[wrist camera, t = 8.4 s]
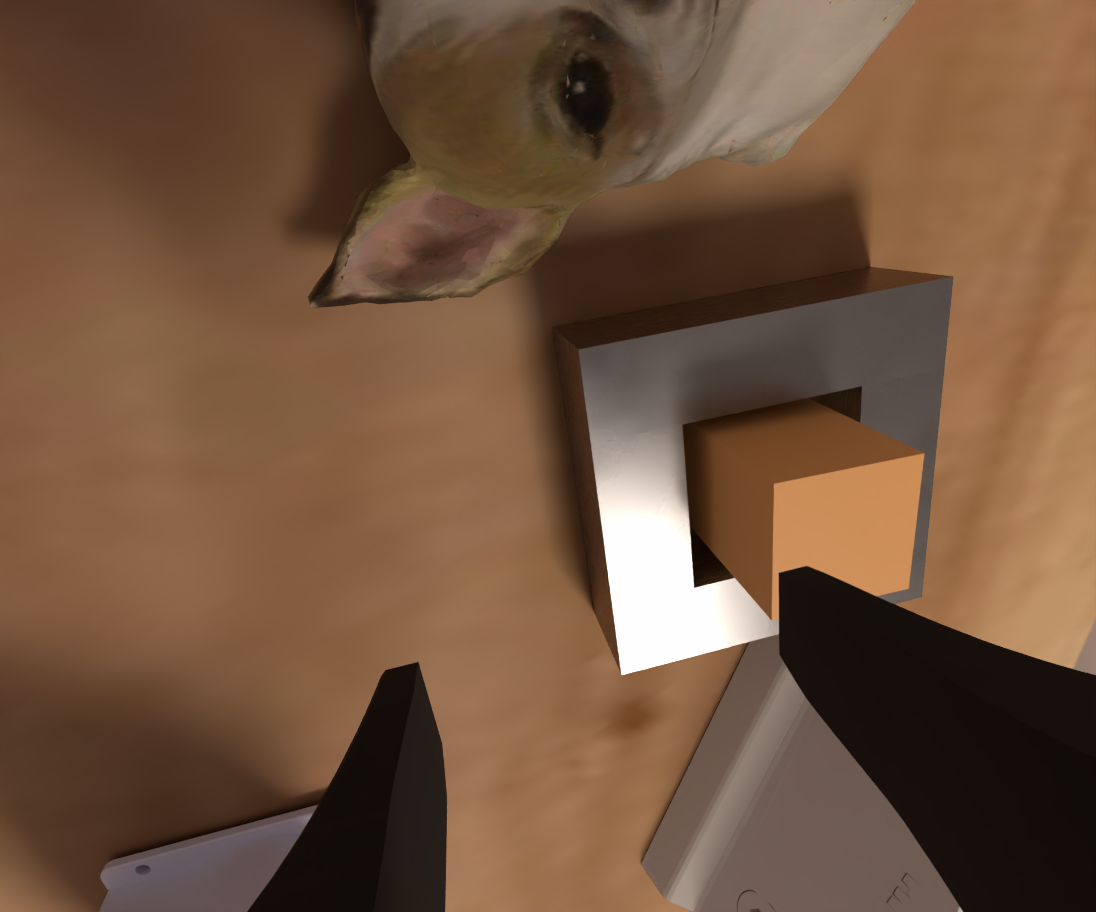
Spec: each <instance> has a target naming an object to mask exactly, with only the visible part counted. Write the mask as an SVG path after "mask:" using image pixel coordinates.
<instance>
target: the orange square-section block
mask: <svg viewBox="0 0 1096 912" xmlns="http://www.w3.org/2000/svg"><path fill="white" fill-rule="evenodd" d="M682 425H683V440H684V454H685V468H686V482H687V496H688V510H689V524H690V527H691V528H692V529H693V530H694V531H695V532H696V534H697V535H698V536H699V537H700V538H701V539H702V541H703V542H704V543H705V544H706V545H707V546H708V548H709V549H710V550H711V551H712V552H713V553H714V554H715V556H716V557H717V558H718V559H719V560H720V561H721V563H722V564H723V565H724V566H725V567H726V568H727V570H728V571H729V572H730V573H731V574H732V575H733V576H734V578H735V579H736V580H737V581H738V582H739V583H740V585H741V586H742V587H743V588H744V589H745V590H746V592H747V593H748V594H749V595H750V596H751V597H752V598H753V600H754V601H755V602H756V603H757V604H758V605H759V607H760V608H761V609H762V610H763V611H764V612H765V614H766V615H767V616H768V617H769V618H770V619H771V621H772V620H777V619H779V573H780V572H784V571H788V570H792V569H796V568H800V567H804V566H809V567H811V568H814V569H816V570H819V571H821V572H824V573H826V574H828V575H831V576H833V577H835V578H837V579H840V580H842V581H844V582H846V583H848V584H851V585H853V586H855V587H857V588H859V589H862V590H864V591H866V592H868V593H870V594H873V595H875V596H880V595H884V594H888V593H893V592H897V591H901V590H905V589H909V581H910V573H911V564H912V556H913V547H914V538H915V530H916V521H917V513H918V504H919V496H920V487H921V479H922V470H923V462H924V453H923V452H921V451H919V450H916V449H914V448H912V447H910V446H908V445H906V444H904V443H902V442H900V441H897V440H895V439H893V438H891V437H889V436H887V435H885V434H883V433H881V432H878V431H876V430H874V429H872V428H870V427H868V426H866V425H864V424H862V423H860V422H857V421H855V420H853V419H851V418H849V417H847V416H845V415H843V414H841V413H838V412H836V411H834V410H832V409H830V408H828V407H826V406H824V405H822V404H819V403H817V402H815V401H813V400H811V399H809V398H804V399H800V400H795V401H790V402H785V403H781V404H776V405H771V406H767V407H762V408H757V409H753V410H748V411H743V412H739V413H734V414H729V415H725V416H720V417H715V418H711V419H706V420H701V421H696V422H692V423H687V424H682Z"/></svg>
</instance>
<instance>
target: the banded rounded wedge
mask: <svg viewBox="0 0 1096 912" xmlns="http://www.w3.org/2000/svg"><path fill="white" fill-rule="evenodd" d="M641 865H642V866H643V868H644V869H645V871H646V872H647V874H648V875H649V877H650V878H651V880H652V881H653V883H654V884H655V886H656V887H657V889H658V890H659V892H660V893H661V895H662V896H663V897H664V898H665V899H666V900H668V901H669V902H671V903H674V904H676V905H678V906H681V907H683V908H685V909H688V910H690V911H692V912H963V911H962V909H961V908H960V906H959V905H958V903H957V902H956V900H955V898H954V897H953V895H952V894H951V892H950V891H949V889H948V887H947V886H946V884H945V883H944V881H943V880H942V878H941V876H940V875H939V873H938V872H937V870H936V869H935V867H934V866H933V864H932V863H931V862H930V860H929V859H928V857H927V856H926V854H925V853H924V851H923V850H922V848H921V847H920V845H919V844H918V842H917V841H916V839H915V838H914V836H913V835H912V833H911V832H910V830H909V829H908V827H907V826H906V824H905V823H904V821H903V820H902V819H901V817H900V816H899V815H898V813H897V812H896V811H895V809H894V808H893V807H892V805H891V804H890V803H889V801H888V800H887V799H886V797H885V796H884V795H883V794H882V792H881V791H880V790H879V789H878V787H877V786H876V785H875V784H874V783H873V781H872V780H871V779H870V778H869V776H868V775H867V774H866V773H865V771H864V770H863V769H862V768H861V766H860V765H859V764H858V763H857V762H856V760H855V759H854V758H853V757H852V755H851V754H850V753H849V752H848V750H847V749H846V748H845V747H844V745H843V744H842V743H841V742H840V741H839V739H838V738H837V737H836V736H835V734H834V733H833V732H832V731H831V729H830V728H829V727H828V726H827V724H826V723H825V722H824V721H823V719H822V718H821V717H820V716H819V714H818V713H817V712H816V711H815V709H814V708H813V707H812V705H811V704H810V703H809V702H808V700H807V699H806V697H805V696H804V694H803V693H802V691H801V689H800V688H799V686H798V685H797V683H796V682H795V680H794V678H793V677H792V675H791V673H790V672H789V670H788V668H787V667H786V665H785V663H784V662H783V660H782V658H781V657H780V655H779V634H777V635H773V636H770V637H766V638H762V639H758V640H754V641H750V642H749V644H748V646H747V648H746V650H745V652H744V654H743V656H742V658H741V660H740V662H739V664H738V667H737V669H736V671H735V673H734V675H733V677H732V679H731V681H730V683H729V685H728V687H727V689H726V691H725V693H724V695H723V697H722V699H721V701H720V703H719V705H718V707H717V709H716V711H715V714H714V716H713V718H712V720H711V722H710V724H709V726H708V728H707V730H706V732H705V734H704V736H703V738H702V740H701V742H700V744H699V746H698V748H697V750H696V752H695V754H694V756H693V758H692V761H691V763H690V765H689V767H688V769H687V771H686V773H685V775H684V777H683V779H682V781H681V783H680V785H679V787H678V789H677V791H676V793H675V795H674V797H673V799H672V801H671V803H670V806H669V808H668V810H667V812H666V814H665V816H664V818H663V820H662V822H661V824H660V826H659V828H658V830H657V832H656V834H655V836H654V838H653V840H652V842H651V844H650V846H649V848H648V850H647V853H646V855H645V857H644V859H643V861H642V863H641Z"/></svg>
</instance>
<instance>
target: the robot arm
mask: <svg viewBox="0 0 1096 912" xmlns="http://www.w3.org/2000/svg"><path fill="white" fill-rule="evenodd" d="M779 655H780V657H781V658H782V660H783V662H784V663H785V665H786V667H787V668H788V670H789V672H790V673H791V675H792V677H793V678H794V680H795V682H796V683H797V685H798V686H799V688H800V689H801V691H802V693H803V694H804V696H805V697H806V699H807V700H808V702H809V703H810V704H811V705H812V707H813V708H814V709H815V711H816V712H817V713H818V714H819V716H820V717H821V718H822V719H823V721H824V722H825V723H826V724H827V726H828V727H829V728H830V729H831V731H832V732H833V733H834V734H835V736H836V737H837V738H838V739H839V741H840V742H841V743H842V744H843V745H844V747H845V748H846V749H847V750H848V752H849V753H850V754H851V755H852V757H853V758H854V759H855V760H856V762H857V763H858V764H859V765H860V766H861V768H862V769H863V770H864V771H865V773H866V774H867V775H868V776H869V778H870V779H871V780H872V781H873V783H874V784H875V785H876V786H877V787H878V789H879V790H880V791H881V792H882V794H883V795H884V796H885V797H886V799H887V800H888V801H889V803H890V804H891V805H892V807H893V808H894V809H895V811H896V812H897V813H898V815H899V816H900V817H901V819H902V820H903V821H904V823H905V824H906V826H907V827H908V829H909V830H910V832H911V833H912V835H913V836H914V838H915V839H916V841H917V842H918V844H919V845H920V847H921V848H922V850H923V851H924V853H925V854H926V856H927V857H928V859H929V860H930V862H931V863H932V864H933V866H934V867H935V869H936V870H937V872H938V873H939V875H940V876H941V878H942V880H943V881H944V883H945V884H946V886H947V887H948V889H949V891H950V892H951V894H952V895H953V897H954V898H955V900H956V902H957V903H958V905H959V906H960V908H961V909H962V911H963V912H1096V675H1092V674H1089V673H1085V672H1081V671H1077V670H1074V669H1070V668H1067V667H1063V666H1060V665H1056V664H1053V663H1050V662H1046V661H1043V660H1040V659H1037V658H1034V657H1031V656H1028V655H1025V654H1022V653H1019V652H1015V651H1012V650H1009V649H1006V648H1003V647H1000V646H997V645H995V644H992V643H989V642H986V641H983V640H981V639H978V638H975V637H973V636H970V635H968V634H965V633H962V632H960V631H957V630H955V629H952V628H950V627H947V626H944V625H942V624H939V623H937V622H935V621H932V620H930V619H927V618H925V617H922V616H920V615H918V614H915V613H913V612H911V611H908V610H906V609H904V608H902V607H899V606H897V605H895V604H893V603H890V602H888V601H886V600H884V599H881V598H879V597H877V596H875V595H873V594H870V593H868V592H866V591H864V590H862V589H859V588H857V587H855V586H853V585H851V584H848V583H846V582H844V581H842V580H840V579H837V578H835V577H833V576H831V575H828V574H826V573H824V572H821V571H819V570H816V569H814V568H811V567H809V566H804V567H800V568H796V569H792V570H788V571H784V572H780V573H779ZM446 837H447V792H446V780H445V769H444V759H443V748H442V742H441V738H440V735H439V731H438V728H437V725H436V721H435V718H434V714H433V711H432V707H431V704H430V701H429V697H428V694H427V690H426V687H425V683H424V680H423V676H422V673H421V670H420V666H419V663H418V662H417V663H413V664H409V665H405V666H400V667H396V668H392V669H388V670H385V672H384V673H383V674H382V676H381V678H380V680H379V683H378V685H377V688H376V690H375V692H374V695H373V697H372V699H371V702H370V704H369V706H368V708H367V711H366V713H365V715H364V717H363V719H362V722H361V724H360V726H359V728H358V730H357V732H356V734H355V736H354V738H353V740H352V742H351V744H350V746H349V748H348V750H347V752H346V754H345V756H344V758H343V760H342V762H341V764H340V766H339V768H338V770H337V772H336V774H335V776H334V777H333V779H332V781H331V783H330V785H329V786H328V788H327V790H326V792H325V793H324V795H323V797H322V799H321V800H320V802H319V804H318V805H315V806H311V807H307V808H304V809H300V810H296V811H292V812H289V813H285V814H281V815H278V816H274V817H270V818H266V819H263V820H259V821H255V822H252V823H248V824H244V825H240V826H237V827H233V828H229V829H226V830H222V831H218V832H215V833H211V834H207V835H203V836H200V837H196V838H192V839H189V840H185V841H181V842H177V843H174V844H170V845H166V846H163V847H159V848H155V849H152V850H148V851H144V852H140V853H137V854H133V855H129V856H126V857H122V858H118V859H114V860H112V861H110V862H108V863H107V864H106V865H105V866H104V868H103V871H102V873H101V875H100V878H101V881H102V882H103V884H104V885H105V887H106V888H107V890H108V893H107V895H106V897H105V899H104V901H103V903H102V906H101V908H100V910H99V912H445V890H446Z"/></svg>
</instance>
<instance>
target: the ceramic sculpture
mask: <svg viewBox="0 0 1096 912" xmlns="http://www.w3.org/2000/svg"><path fill="white" fill-rule="evenodd" d="M915 1H916V0H354V6H355V15H356V23H357V27H358V31H359V35H360V38H361V42H362V45H363V49H364V53H365V56H366V60H367V64H368V67H369V71H370V75H371V78H372V81H373V84H374V87H375V90H376V93H377V96H378V99H379V101H380V103H381V105H382V107H383V110H384V112H385V114H386V116H387V118H388V120H389V122H390V124H391V126H392V128H393V129H394V131H395V132H396V133H397V135H398V136H399V137H400V139H401V140H402V141H403V143H404V144H405V146H406V148H407V149H408V151H409V152H410V159H409V160H408V161H407V162H406V163H404V164H401V165H398V166H394V167H392V168H391V169H390V170H389V171H387V172H386V173H385V174H383V175H382V176H381V177H379V178H377V179H375V180H374V181H372V182H371V183H370V184H369V185H368V186H367V187H366V188H365V189H364V190H363V191H362V193H361V194H360V195H359V196H358V198H357V200H356V203H355V205H354V208H353V210H352V213H351V215H350V218H349V220H348V223H347V225H346V228H345V230H344V233H343V235H342V238H341V240H340V243H339V245H338V248H337V251H336V253H335V256H334V258H333V261H332V263H331V265H330V266H329V267H328V269H327V270H326V271H325V273H324V274H323V275H322V277H321V278H320V279H319V281H318V282H317V283H316V285H315V286H314V288H313V290H312V291H311V293H310V295H309V296H308V298H309V303H310V306H311V307H313V308H320V307H332V306H344V305H350V304H357V303H363V302H368V303H375V304H387V303H398V302H413V301H425V300H426V301H432V300H436V299H439V298H455V297H472V296H474V295H476V294H478V293H479V292H481V291H482V290H483V289H485V288H486V287H488V286H490V285H492V284H495V283H497V282H499V281H502V280H504V279H506V278H510V277H514V276H518V275H522V274H525V273H526V272H527V271H528V270H529V269H530V268H531V267H532V266H533V265H534V264H535V263H536V262H537V261H538V260H539V259H540V258H541V257H542V256H543V255H544V254H545V253H546V252H547V251H548V250H549V249H550V248H551V247H552V246H553V245H554V244H555V243H556V241H557V240H558V238H559V236H560V234H561V232H562V230H563V228H564V226H565V224H566V222H567V220H568V218H569V217H570V216H571V214H572V213H573V212H574V211H575V210H576V208H577V207H578V206H579V205H580V204H581V203H582V202H583V201H586V200H588V199H591V198H592V197H594V196H596V195H597V194H599V193H601V192H603V191H606V190H608V189H610V188H617V187H628V186H635V185H642V184H648V183H654V182H660V181H663V180H665V179H666V178H667V177H669V176H670V175H671V174H673V173H674V172H675V171H677V170H682V169H684V168H686V167H688V166H690V165H692V164H693V163H695V162H697V161H701V160H704V159H708V158H713V157H718V158H720V159H723V160H726V161H730V162H743V163H746V164H749V165H752V166H755V165H761V164H767V163H771V162H773V161H775V160H777V159H780V158H782V157H784V156H785V155H786V154H787V153H788V151H789V150H790V148H791V147H792V146H793V144H794V143H795V142H796V140H797V139H798V138H799V136H800V135H801V133H802V132H804V131H805V130H806V129H807V128H808V127H809V126H810V125H811V124H812V123H813V122H814V121H815V120H816V119H817V118H818V117H819V116H820V115H821V114H822V113H823V112H824V111H825V110H826V109H827V108H828V107H829V106H830V105H831V104H832V103H833V102H834V101H835V100H836V99H837V98H838V96H839V95H840V94H841V93H842V92H843V90H844V89H845V88H846V87H847V85H848V84H849V83H850V82H851V81H852V79H853V78H854V77H855V76H856V75H857V73H858V72H859V71H860V69H861V68H862V67H863V65H864V64H865V63H866V61H867V60H868V59H869V57H870V56H871V55H872V54H873V52H874V51H875V50H876V49H877V47H878V46H879V45H880V44H881V43H882V42H883V40H884V39H885V38H886V37H887V36H888V35H889V33H890V32H891V31H892V30H893V29H894V27H895V26H896V25H897V24H898V23H899V21H900V20H901V19H902V18H903V17H904V15H905V14H906V13H907V12H908V10H909V9H910V8H911V7H912V5H913V4H914V2H915Z"/></svg>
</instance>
